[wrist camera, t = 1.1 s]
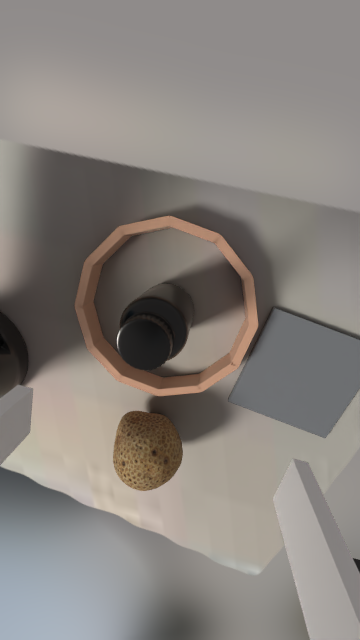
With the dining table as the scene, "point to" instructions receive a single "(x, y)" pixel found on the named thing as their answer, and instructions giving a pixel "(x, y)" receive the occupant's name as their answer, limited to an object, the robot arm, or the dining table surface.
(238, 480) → the dining table surface
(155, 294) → the supplement bottle
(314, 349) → the mat
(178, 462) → the natural sponge
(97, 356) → the pink polygonal hoop
